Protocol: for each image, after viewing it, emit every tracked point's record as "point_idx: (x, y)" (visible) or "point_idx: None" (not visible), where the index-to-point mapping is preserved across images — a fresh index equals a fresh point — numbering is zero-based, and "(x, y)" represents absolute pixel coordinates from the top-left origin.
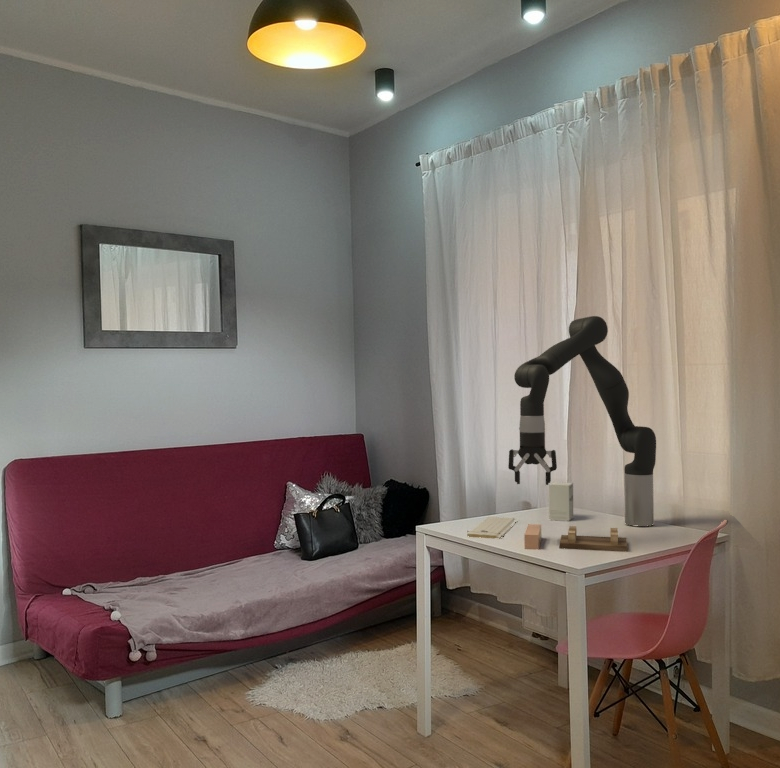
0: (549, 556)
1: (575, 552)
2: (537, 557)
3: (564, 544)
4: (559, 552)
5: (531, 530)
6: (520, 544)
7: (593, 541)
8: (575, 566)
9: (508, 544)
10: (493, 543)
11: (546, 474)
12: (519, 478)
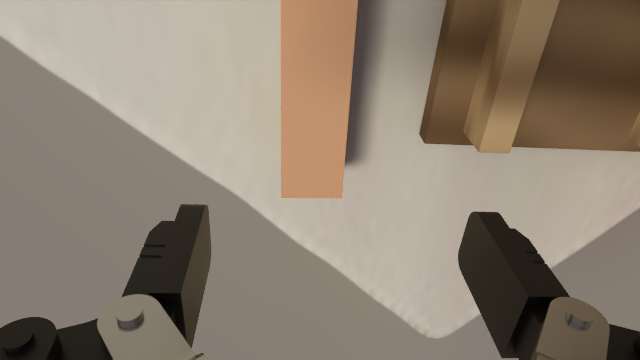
0: (371, 248)
1: (468, 184)
2: (332, 265)
3: (444, 142)
4: (411, 194)
5: (308, 107)
6: (257, 90)
7: (580, 88)
8: (434, 327)
9: (205, 99)
10: (134, 91)
11: (503, 341)
12: (201, 276)
